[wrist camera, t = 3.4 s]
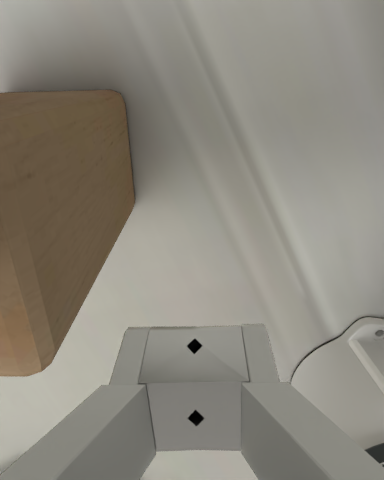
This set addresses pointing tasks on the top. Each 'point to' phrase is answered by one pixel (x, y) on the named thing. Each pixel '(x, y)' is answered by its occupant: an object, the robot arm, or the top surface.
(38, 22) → the top surface
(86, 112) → the wooden block
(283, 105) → the top surface
